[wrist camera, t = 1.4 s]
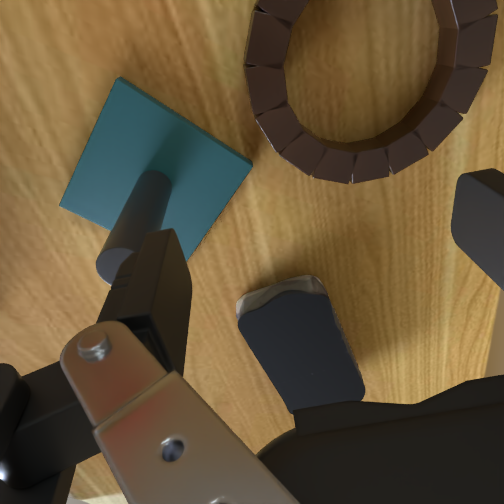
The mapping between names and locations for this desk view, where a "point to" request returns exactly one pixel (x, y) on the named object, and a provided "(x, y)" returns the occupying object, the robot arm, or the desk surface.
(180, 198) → the post stand
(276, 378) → the black board eraser
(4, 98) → the desk surface
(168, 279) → the robot arm
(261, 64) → the ring
